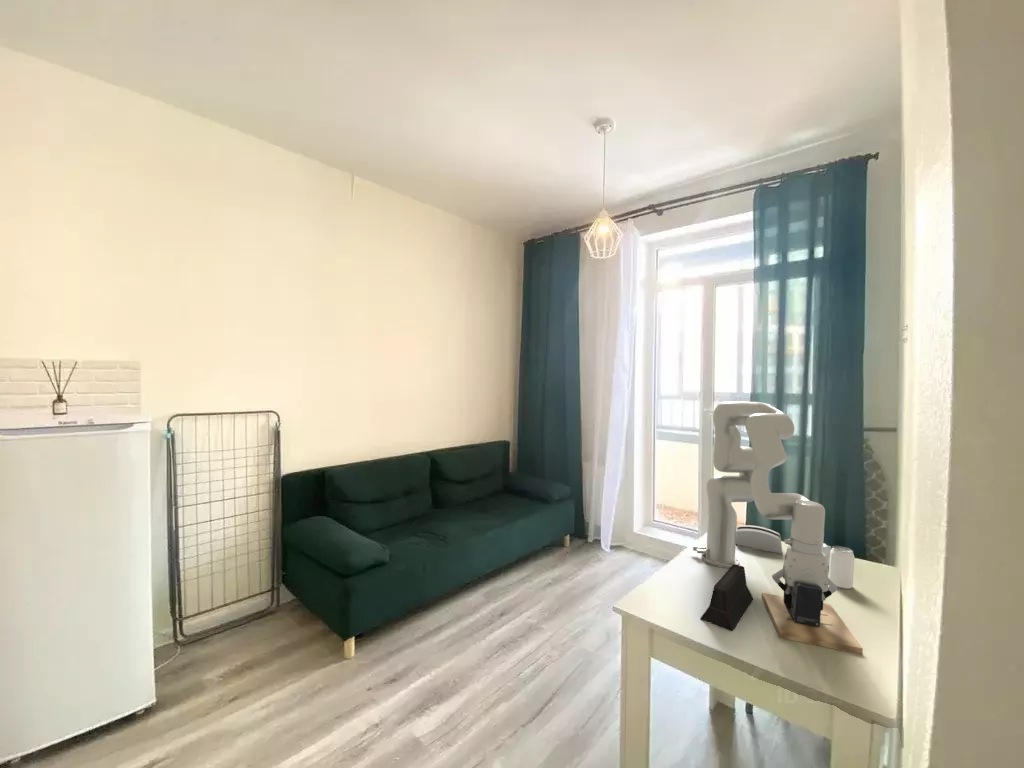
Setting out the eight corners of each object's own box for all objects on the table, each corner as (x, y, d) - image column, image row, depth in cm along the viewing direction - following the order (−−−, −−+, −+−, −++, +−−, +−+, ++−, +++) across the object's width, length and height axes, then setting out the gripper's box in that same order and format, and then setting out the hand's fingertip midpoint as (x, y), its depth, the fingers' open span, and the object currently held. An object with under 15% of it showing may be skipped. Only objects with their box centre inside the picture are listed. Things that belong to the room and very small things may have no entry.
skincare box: (802, 559, 165) (803, 540, 165) (817, 559, 166) (818, 540, 166) (815, 566, 159) (816, 546, 159) (830, 566, 160) (831, 546, 160)
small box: (821, 628, 117) (824, 589, 117) (793, 622, 119) (795, 585, 119) (809, 608, 127) (811, 572, 127) (783, 603, 129) (785, 568, 129)
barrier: (733, 632, 117) (734, 596, 116) (699, 619, 123) (700, 584, 122) (754, 599, 135) (756, 567, 134) (723, 589, 140) (725, 559, 140)
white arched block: (781, 549, 174) (783, 528, 171) (781, 557, 170) (783, 536, 167) (734, 540, 183) (735, 519, 179) (733, 547, 179) (734, 527, 176)
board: (779, 637, 115) (780, 631, 115) (761, 597, 136) (762, 592, 136) (862, 654, 109) (862, 648, 109) (830, 609, 130) (830, 604, 130)
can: (845, 591, 142) (847, 554, 141) (824, 581, 148) (826, 546, 147) (857, 587, 144) (859, 551, 144) (835, 578, 150) (837, 544, 150)
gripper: (774, 545, 121) (770, 609, 122) (848, 556, 116) (844, 623, 116) (768, 536, 128) (764, 596, 129) (838, 546, 123) (834, 609, 123)
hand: (802, 608), depth 123 cm, fingers closed on small box, 6 cm apart
